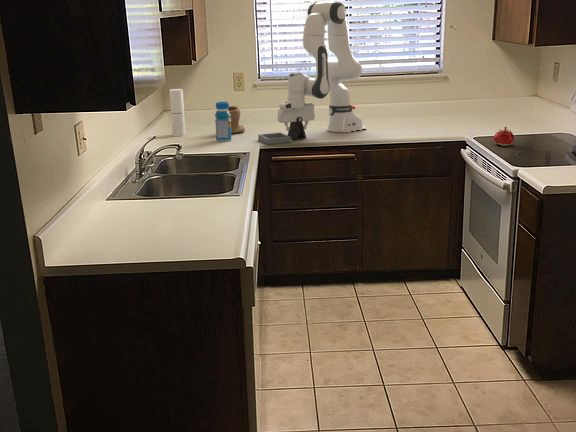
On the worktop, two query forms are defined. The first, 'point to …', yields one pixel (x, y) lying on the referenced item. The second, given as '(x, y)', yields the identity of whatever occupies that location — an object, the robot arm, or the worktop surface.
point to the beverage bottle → (223, 122)
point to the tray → (274, 138)
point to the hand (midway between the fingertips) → (296, 129)
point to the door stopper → (297, 130)
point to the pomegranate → (504, 137)
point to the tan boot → (235, 120)
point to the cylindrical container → (177, 112)
